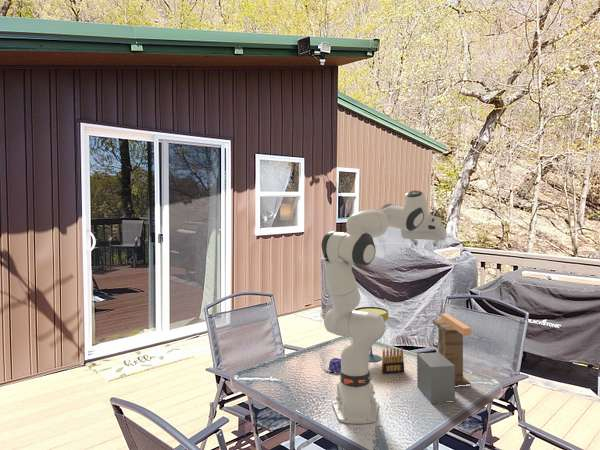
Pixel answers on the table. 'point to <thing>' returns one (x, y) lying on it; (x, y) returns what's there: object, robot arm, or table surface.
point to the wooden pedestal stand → (451, 349)
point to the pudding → (335, 365)
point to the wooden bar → (456, 324)
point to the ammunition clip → (392, 362)
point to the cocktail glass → (385, 316)
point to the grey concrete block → (435, 377)
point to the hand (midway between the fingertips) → (425, 245)
